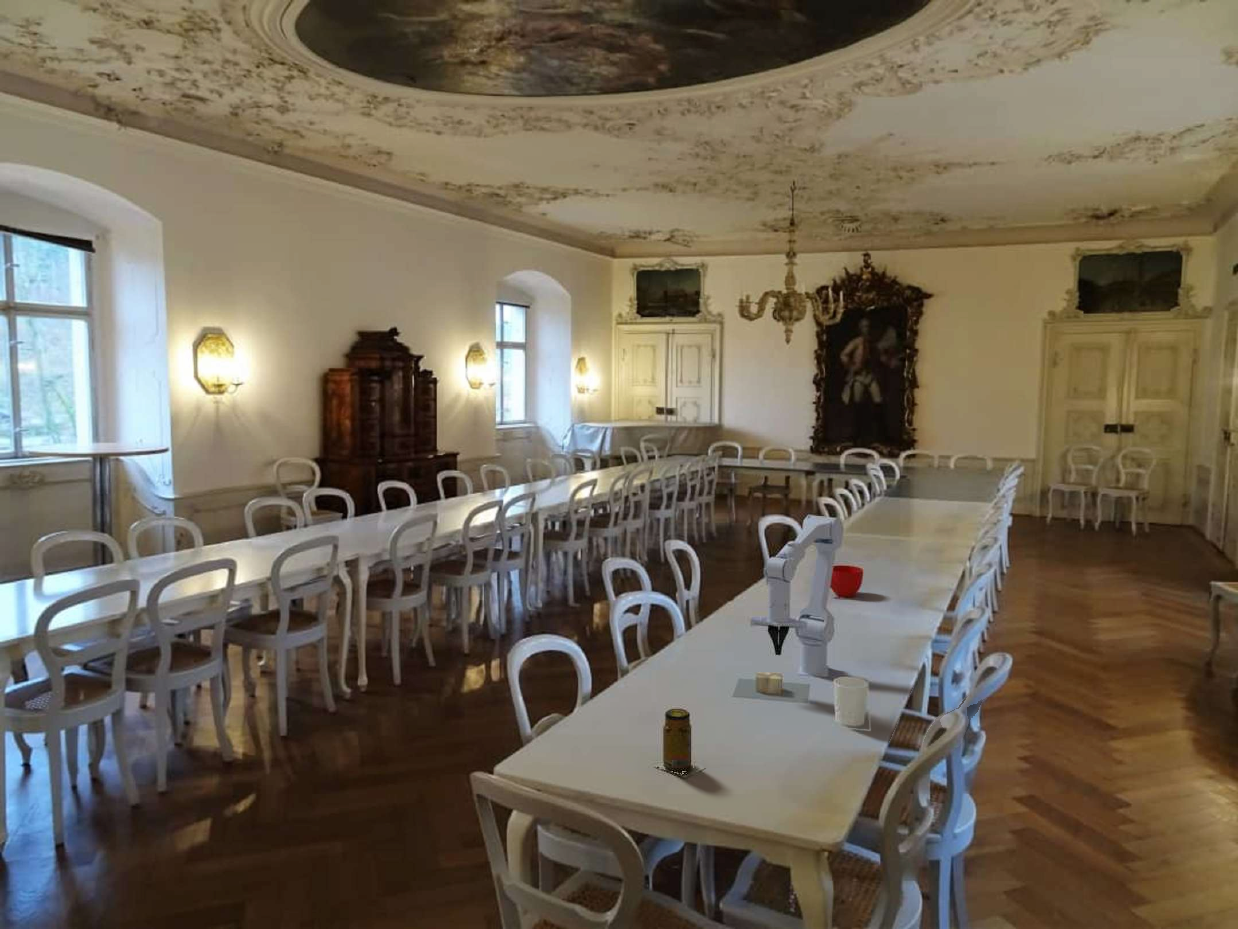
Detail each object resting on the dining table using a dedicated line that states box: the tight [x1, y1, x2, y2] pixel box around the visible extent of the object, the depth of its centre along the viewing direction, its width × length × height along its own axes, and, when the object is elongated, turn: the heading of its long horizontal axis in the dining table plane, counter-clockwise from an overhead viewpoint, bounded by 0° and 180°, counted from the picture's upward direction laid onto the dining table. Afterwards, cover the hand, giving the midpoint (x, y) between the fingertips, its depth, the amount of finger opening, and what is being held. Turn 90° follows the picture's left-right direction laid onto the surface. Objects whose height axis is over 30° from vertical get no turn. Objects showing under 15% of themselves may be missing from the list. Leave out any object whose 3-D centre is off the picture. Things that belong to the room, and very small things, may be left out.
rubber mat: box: [732, 677, 811, 704], centre depth 233 cm, size 14×19×1 cm
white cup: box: [833, 676, 869, 727], centre depth 212 cm, size 8×8×10 cm
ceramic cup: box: [830, 564, 864, 598], centre depth 332 cm, size 13×17×10 cm
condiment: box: [653, 708, 707, 779], centre depth 188 cm, size 7×8×12 cm
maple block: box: [755, 671, 783, 694], centre depth 233 cm, size 4×4×6 cm
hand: (778, 654), depth 232 cm, fingers closed
